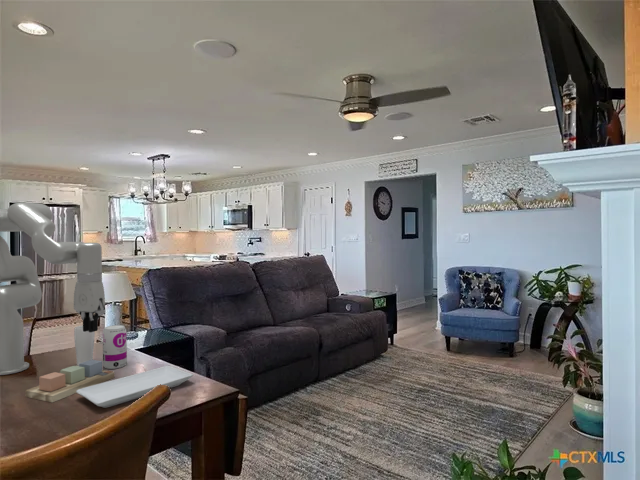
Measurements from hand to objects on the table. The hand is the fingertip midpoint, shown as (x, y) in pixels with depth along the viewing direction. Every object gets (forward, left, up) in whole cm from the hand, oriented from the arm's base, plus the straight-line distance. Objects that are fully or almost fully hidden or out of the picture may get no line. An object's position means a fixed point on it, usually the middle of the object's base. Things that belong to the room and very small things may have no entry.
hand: (90, 330), depth 146 cm
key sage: (0, -7, -15) cm, 17 cm away
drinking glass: (-15, +10, -17) cm, 25 cm away
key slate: (0, 0, -15) cm, 15 cm away
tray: (+23, -2, -18) cm, 29 cm away
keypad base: (0, -7, -17) cm, 19 cm away
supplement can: (-4, +14, -17) cm, 23 cm away
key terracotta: (0, -14, -15) cm, 21 cm away
